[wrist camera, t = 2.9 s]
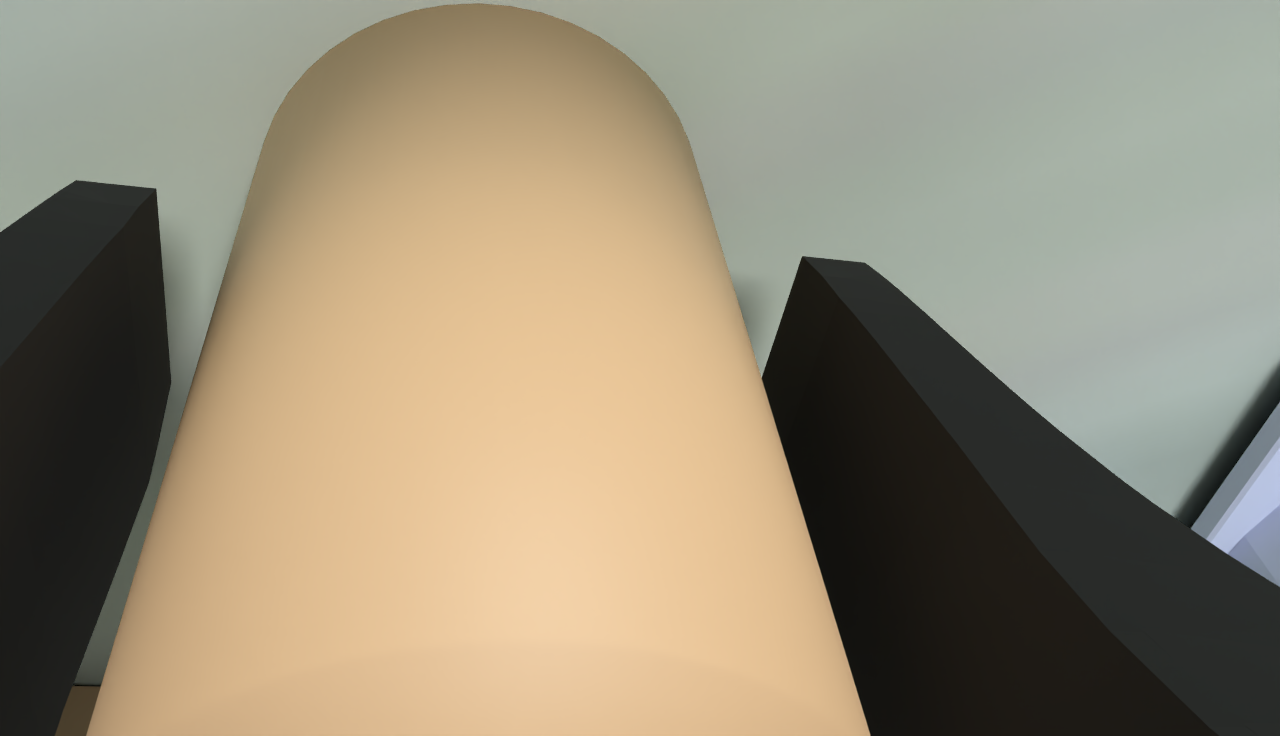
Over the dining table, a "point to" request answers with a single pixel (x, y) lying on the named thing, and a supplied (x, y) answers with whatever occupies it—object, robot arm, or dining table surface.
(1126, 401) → the dining table surface
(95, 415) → the robot arm
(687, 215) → the tan rounded cone
